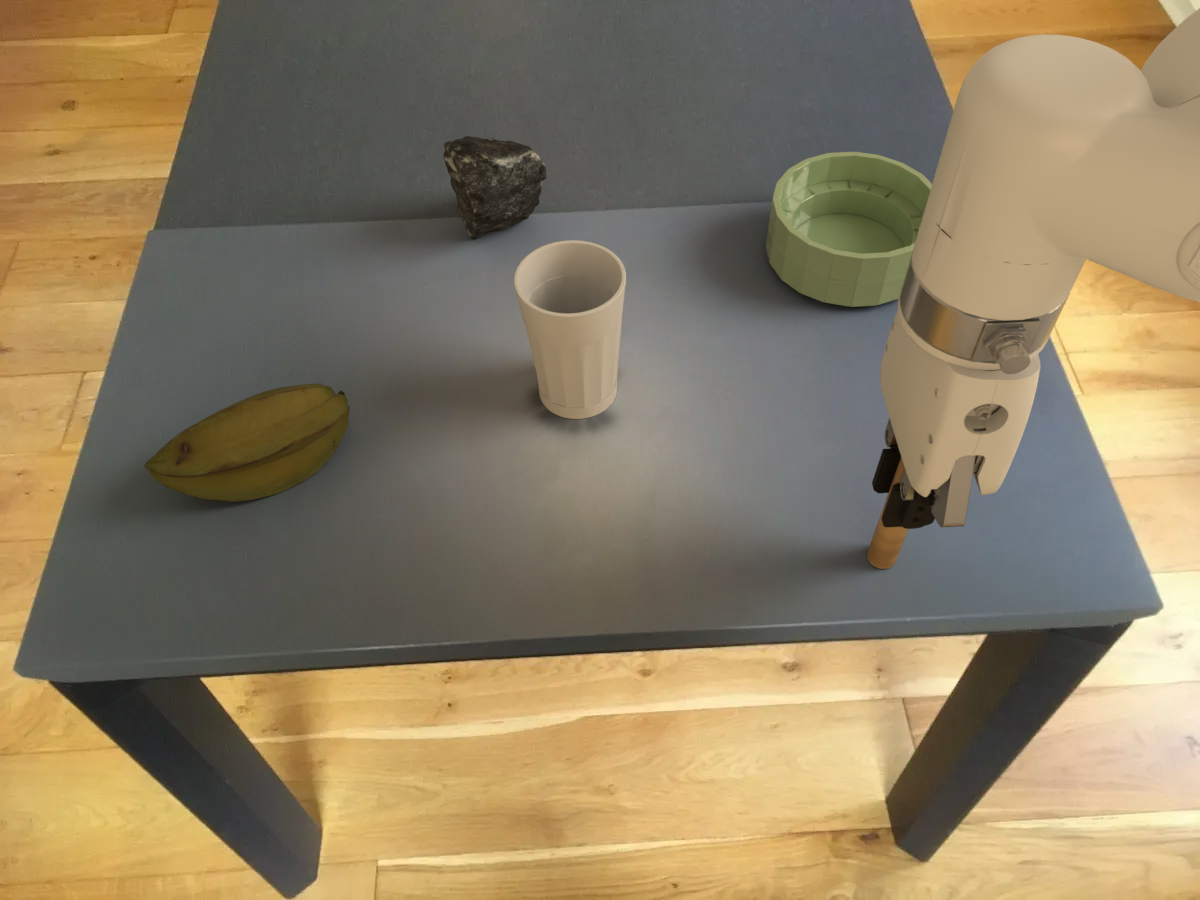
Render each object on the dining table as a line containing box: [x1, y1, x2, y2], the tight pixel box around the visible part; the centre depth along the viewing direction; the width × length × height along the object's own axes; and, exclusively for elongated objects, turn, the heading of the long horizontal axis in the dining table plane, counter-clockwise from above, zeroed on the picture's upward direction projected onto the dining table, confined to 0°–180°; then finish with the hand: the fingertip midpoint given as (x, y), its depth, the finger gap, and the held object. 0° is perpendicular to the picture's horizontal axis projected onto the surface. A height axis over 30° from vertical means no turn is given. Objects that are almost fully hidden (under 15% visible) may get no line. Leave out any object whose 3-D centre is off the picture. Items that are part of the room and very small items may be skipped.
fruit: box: [143, 383, 350, 503], centre depth 72 cm, size 11×12×7 cm
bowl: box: [765, 151, 933, 308], centre depth 85 cm, size 14×14×6 cm
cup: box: [513, 239, 627, 420], centre depth 74 cm, size 8×8×12 cm
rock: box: [442, 135, 547, 241], centre depth 87 cm, size 8×7×10 cm
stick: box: [866, 457, 910, 570], centre depth 63 cm, size 2×2×12 cm
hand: (901, 503), depth 63 cm, fingers closed on stick, 2 cm apart
